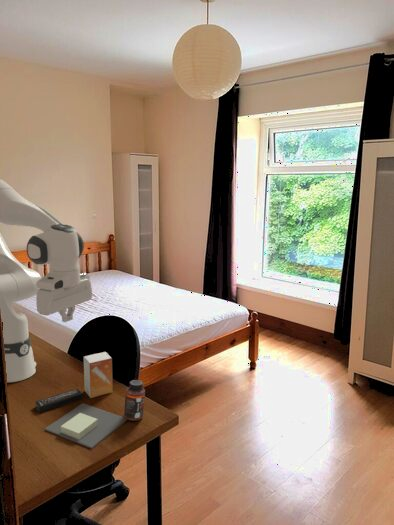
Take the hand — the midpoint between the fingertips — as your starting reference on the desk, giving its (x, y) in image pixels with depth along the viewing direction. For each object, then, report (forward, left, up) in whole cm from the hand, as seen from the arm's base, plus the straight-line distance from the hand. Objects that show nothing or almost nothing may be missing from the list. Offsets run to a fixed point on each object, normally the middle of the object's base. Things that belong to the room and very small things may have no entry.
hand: (67, 320), depth 130 cm
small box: (+2, +11, -29) cm, 31 cm away
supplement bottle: (+22, +4, -29) cm, 37 cm away
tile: (+12, -5, -28) cm, 31 cm away
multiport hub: (-5, -1, -30) cm, 30 cm away
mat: (+12, -6, -29) cm, 32 cm away
